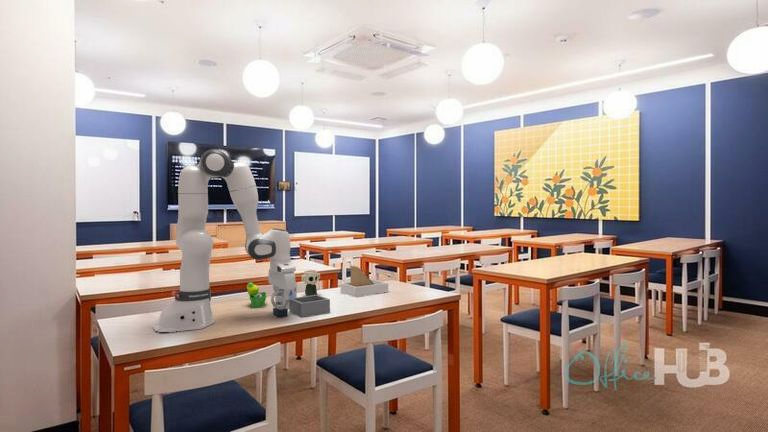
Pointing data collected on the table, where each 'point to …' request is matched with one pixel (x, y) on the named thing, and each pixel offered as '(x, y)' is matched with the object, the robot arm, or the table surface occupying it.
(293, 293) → the light bulb box
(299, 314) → the crate
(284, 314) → the watch
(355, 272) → the sandwich container
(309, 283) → the big eyed figurine
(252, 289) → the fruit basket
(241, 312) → the table surface
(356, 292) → the light grey tray
